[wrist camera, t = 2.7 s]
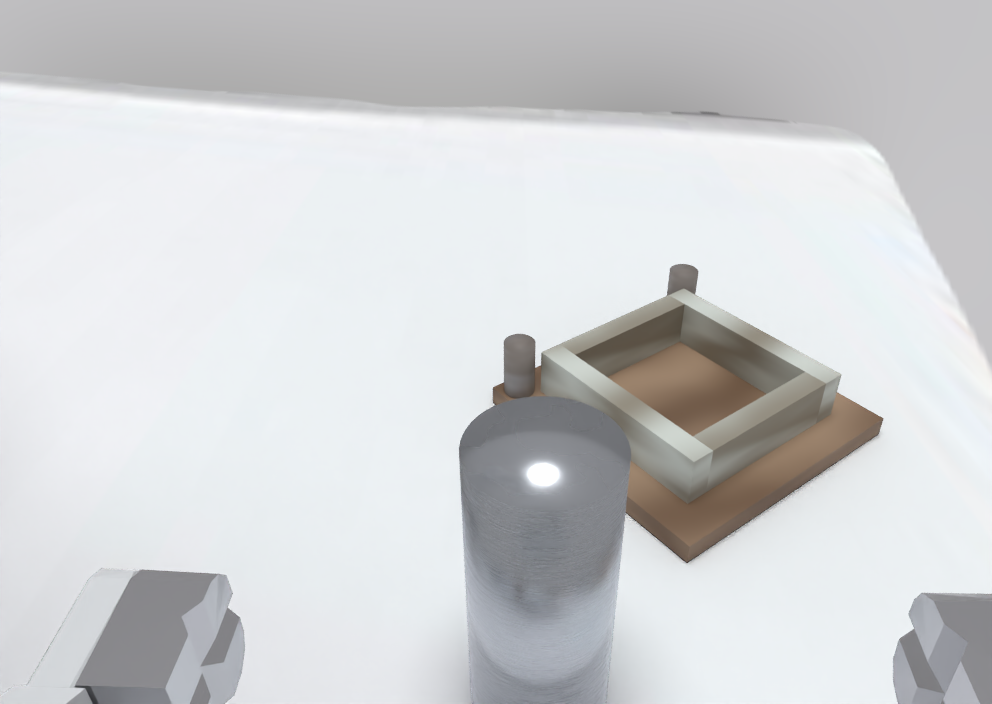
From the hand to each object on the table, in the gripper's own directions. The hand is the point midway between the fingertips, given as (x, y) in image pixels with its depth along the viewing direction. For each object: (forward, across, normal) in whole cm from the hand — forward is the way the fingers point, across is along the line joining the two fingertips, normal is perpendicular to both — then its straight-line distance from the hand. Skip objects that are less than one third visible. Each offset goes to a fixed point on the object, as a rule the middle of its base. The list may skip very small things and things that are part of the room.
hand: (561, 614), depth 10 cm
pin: (+12, 0, +20) cm, 24 cm away
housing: (+29, -7, +20) cm, 36 cm away
